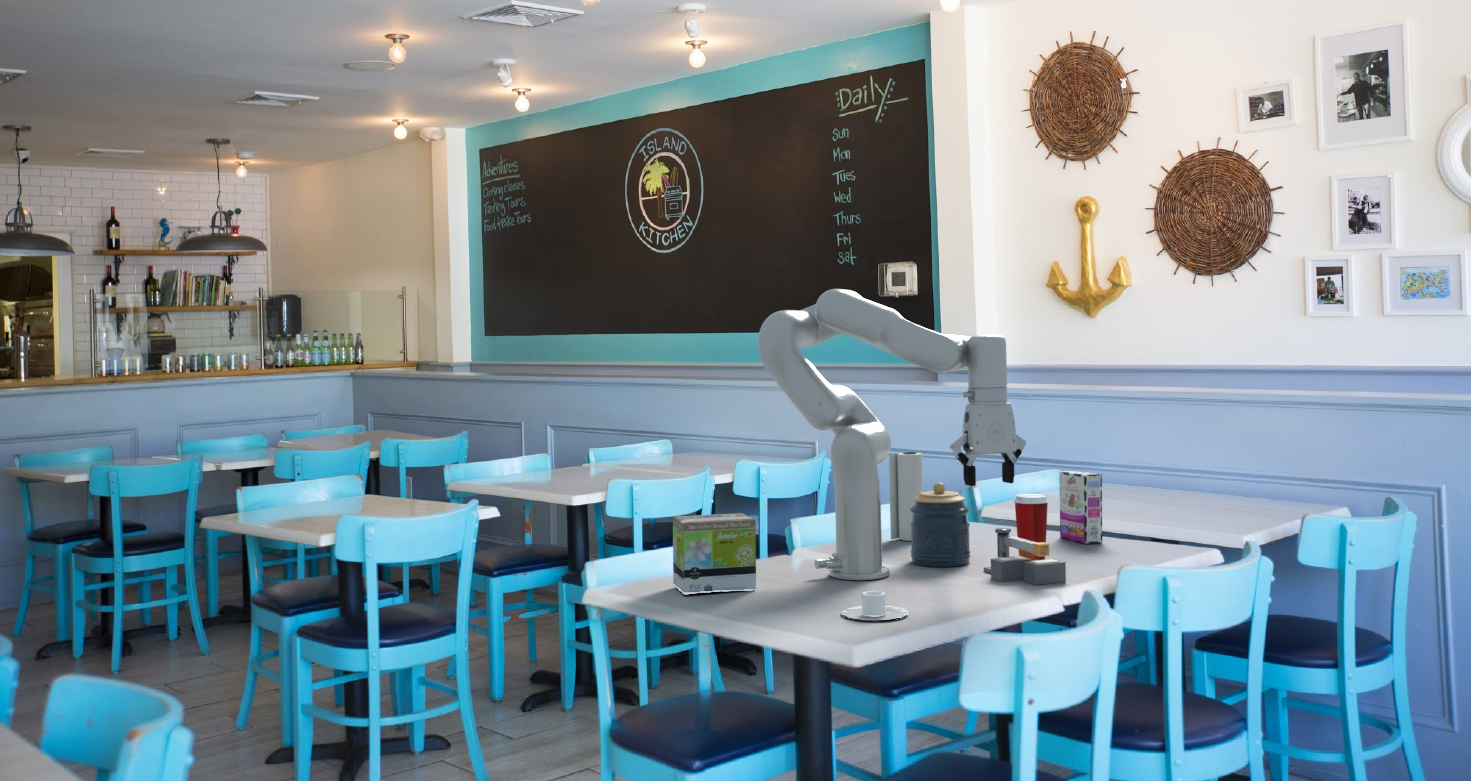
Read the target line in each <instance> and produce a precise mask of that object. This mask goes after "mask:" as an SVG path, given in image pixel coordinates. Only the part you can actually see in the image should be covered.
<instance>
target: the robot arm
mask: <svg viewBox="0 0 1471 781" xmlns="http://www.w3.org/2000/svg"><path fill="white" fill-rule="evenodd" d="M758 332H759V333H758V337H757V351H758V355H759V358H760V361H761V362H762V363H761V364H762V365H763V367H764V369H765V370H766V371H767V373H768V374H769V376H770V377H771V378H772V379H773V380H774V382H775V383H776V385H778V386H779V388H780V389H781V390H782V391H783V393H784V394H785V395H786V396H787V398H788V399H789V400H790V401H791V402H792V404H793V406H795V407H796V408H797V410H798V411H799V412H800V413H801V415H802V416H803V417H804V419H805V420H806V421H807V422H808V424H810V425H811V427H813V428H814V429H815V430H820V431H830V430H831V431H832V433H834V435H835V436H834V437H833V439H832V442H831V446H830V461H831V467H832V471H833V472H832V473H833V480H834V481H833V482H834V484H833V485H834V486H833V487H834V508H835V510H834V511H835V514H834V516H835V517H834V518H835V552H834V553H833V552H832V553H831V556H829V557H828V558H818V559H815V560H814V568H815V569H818V570H819V569H820V570H821V569H826V570H829V576H830V577H832V578H835V579H840V580H849V581H868V580H869V581H871V580H872V581H873V580H878V579H883V578H887V577H889V576H890V569H889V567H887V566H885V565H883V549H882V548H883V546H882V541H883V540H882V506H881V505H882V503H881V499H882V498H881V483H880V475H879V470H878V464H880V463H882V462H884V461H885V460H886V459H887V458H888V457H889V454H890V452H891V449H892V440H891V436H890V433H889V432H888V430H887V428H886V427H885V426H884V425H883V424H882V421H880V420H879V418H877V417H876V415H875V414H874V413H873V412H872V411H871V409H870V408H869V407H868V406H867V405H866V404H865V402H864V401H863V400H862V399H861V398H860V396H859V395H858V394H857V393H856V392H855V391H853V390H852V389H850V388H849V387H848V386H845V385H841V384H838V383H837V384H831V383H830V382H829V381H828V380H827V379H826V378H825V377H824V376H823V375H822V374H821V372H820V371H819V370H818V369H817V368H816V366H815V365H814V364H813V363H812V362H811V361H810V360H809V359H808V358H807V357H806V356H805V355H803V353H802V352H801V351H800V350H804V349H805V350H806V349H808V348H811V347H812V348H813V347H814V346H817V345H820V344H822V343H824V342H827V341H828V340H831V339H833V338H836V337H838V336H840V335H846V336H849V337H851V338H853V339H855V340H858V341H861V342H862V343H866V344H868V345H871V346H873V347H875V348H877V349H880V350H882V351H883V352H885V353H889V354H891V355H893V356H894V357H897V358H900V359H901V360H904V361H907V362H908V363H911V364H914V365H915V366H916V365H917V366H919V367H921V368H924V369H926V370H929V371H932V372H936V373H940V374H941V373H944V374H945V373H952V372H958V371H964V370H967V373H968V374H967V376H968V377H967V378H968V380H967V381H968V386H967V391H964V392H963V398H964V399H966V400H967V401H968V403H966V404H965V407H964V413H963V419H962V420H963V421H962V435H961V436H959V438H958V439H956V440H955V441H954V442H953V443H951V444H950V445H949V447H950V449H951V451H952V453H953V454H954V455H955V458H956V459H957V460H958V461H959V462H960V465H961V466H963V467H962V468H963V472H962V473H963V481H964V485H965V486H968V487H969V486H970V487H975V486H976V485H977V481H976V480H977V477H976V476H977V475H976V465H974V463H975V461H976V459H977V458H978V456H979V455H995V454H996V455H997V454H1000V455H1001V457H1002V458H1003V460H1004V461H1002V463H1001V477H1002V478H1001V480H1002V482H1003V483H1006V484H1014V482H1015V480H1014V479H1015V464H1016V463H1017V462H1018V459H1019V457H1020V456H1021V455H1022V453H1023V452H1022V451H1023V450H1024V448H1025V446H1026V445H1027V441H1026V440H1025V439H1024V438H1022V437H1020V435H1017V432H1016V431H1017V429H1016V421H1015V415H1014V409H1013V405H1012V403H1011V402H1008V387H1007V386H1008V379H1007V378H1008V377H1007V376H1008V375H1007V372H1008V371H1007V370H1008V368H1007V366H1008V365H1007V340H1006V338H1005V337H1004V335H1001V334H978V335H976V334H975V335H972V336H969V335H967V336H966V335H962V334H961V335H958V334H943V333H940V332H937V331H934V330H932V329H929V328H926V327H923V326H921V325H919V324H916V323H914V322H912V321H910V320H907V319H906V318H904V316H902V315H901V313H899V312H898V311H897V310H896V309H894V308H892V307H888V306H886V305H883V304H880V303H877V302H875V301H872V300H869V299H866V298H864V297H863V296H862V295H860V294H859V293H857V292H856V291H855V290H854V291H853V290H851V289H843V288H832V289H828V290H826V291H824V292H823V293H822V294H820V296H819V297H818V298H817V300H816V303H814V304H813V305H810V306H807V307H805V308H802V309H800V310H797V309H784V310H778V311H775V312H773V313H771V314H770V315H769V316H767V318H765V320H764V321H763V323H762V324H761V327H760V329H759V331H758ZM810 425H809V426H810ZM962 448H963V451H964V452H963V451H962Z"/></svg>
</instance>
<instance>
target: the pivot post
mask: <svg viewBox="0 0 1471 781" xmlns="http://www.w3.org/2000/svg"><path fill="white" fill-rule="evenodd" d="M994 532H995V533H996V536H997V538H996V540H997V544H996V545H997V546H996V548H997V558H1001V557H1010V547H1009V546H1006V545H1004V536H1010V534H1011V532H1012V529H1011V528H1007V527H998V528H997V527H996V528H995V529H994ZM983 572H985V573H988V574H991V566H987V567H986V566H984V567H983Z"/></svg>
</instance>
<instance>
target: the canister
mask: <svg viewBox="0 0 1471 781" xmlns="http://www.w3.org/2000/svg"><path fill="white" fill-rule="evenodd" d="M913 500H914V501H916V503H915V505H914V506H913V507H911V508H910V511H911V513H912V522H911V523H910V526H911V541H910V547H911V549H910V557H911V563H913V564H914V565H917V566H923V567H931V568H949V567H959V566H964V565H965V566H966V565H967V564H969V563H970V560H971V559H970V558H971V548H970V526H971V524H970V522H969V520H968V513H969V512H970V510H971V509H970V508H969V507H968V506H967V505H966V504H965V503H964V502H965V501H966V497H965V496H963V495H962V494H960V493H959V492H957V491H953V490H946V486H945V484H944V483H942V482H936V483H935V484H934V485H933V487H932V490H928V491H927V490H926V491H923V492H921V493H920V494H919V495H918V496H916V497H915V498H914V499H913Z"/></svg>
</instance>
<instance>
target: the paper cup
mask: <svg viewBox="0 0 1471 781" xmlns="http://www.w3.org/2000/svg"><path fill="white" fill-rule="evenodd" d="M1012 503H1014V509H1015V510H1014V512H1015V523H1016V524H1015V525H1016V537H1018V538H1022V539H1026V540H1030V541H1033V542H1037V543H1040V542H1045V543H1047V532H1048V531H1047V526H1048V525H1047V523H1048V503H1050V500H1048V497H1047V495H1045V494H1043V493H1018V494H1016V495H1015V497H1014V498H1013V500H1012ZM1017 550H1018V556H1022V557H1026V558H1029V559H1031V561H1036V560H1046V556H1041V557H1038V556H1034V555H1033V553H1031V552H1027V551H1024V550H1020V549H1017Z"/></svg>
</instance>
